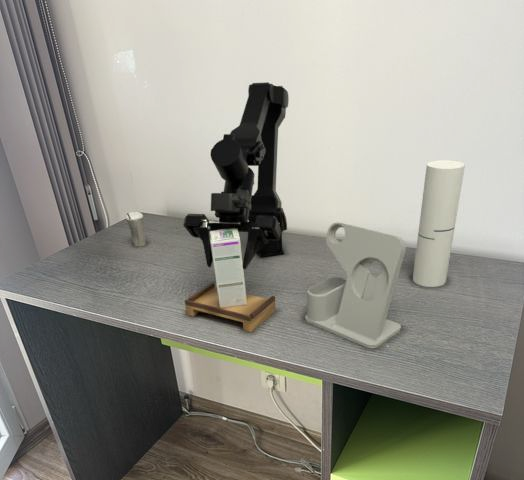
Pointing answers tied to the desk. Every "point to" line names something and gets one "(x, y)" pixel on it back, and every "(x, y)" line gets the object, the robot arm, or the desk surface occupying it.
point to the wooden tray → (247, 314)
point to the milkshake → (136, 228)
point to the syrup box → (228, 267)
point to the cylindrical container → (437, 221)
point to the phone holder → (358, 287)
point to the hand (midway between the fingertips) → (226, 267)
